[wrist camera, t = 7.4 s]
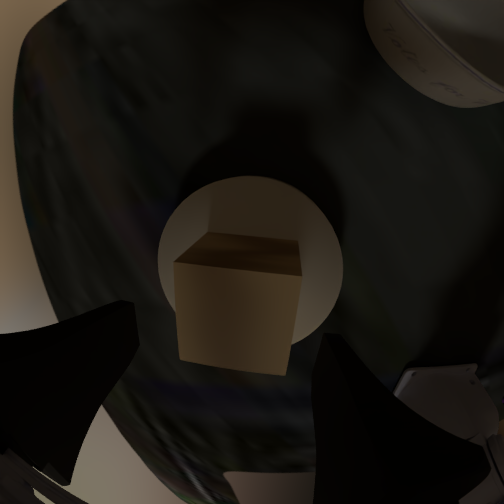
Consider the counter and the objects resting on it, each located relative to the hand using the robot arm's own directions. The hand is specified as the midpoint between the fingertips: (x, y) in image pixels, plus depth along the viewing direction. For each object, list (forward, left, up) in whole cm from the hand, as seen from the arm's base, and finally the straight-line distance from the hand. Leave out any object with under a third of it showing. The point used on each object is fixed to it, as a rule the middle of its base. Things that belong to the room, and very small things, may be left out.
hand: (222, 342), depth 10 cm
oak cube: (0, 0, -6) cm, 7 cm away
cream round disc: (0, 0, -10) cm, 10 cm away
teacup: (-12, -17, -9) cm, 23 cm away
